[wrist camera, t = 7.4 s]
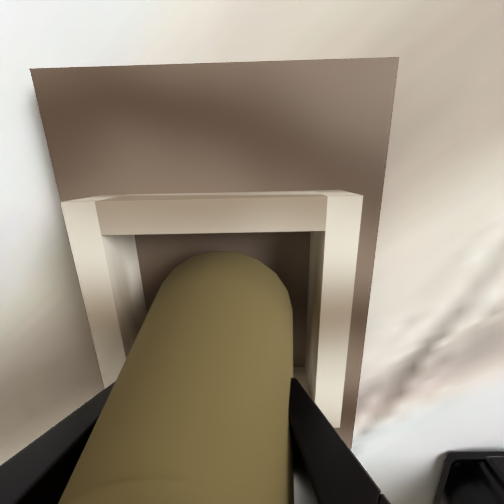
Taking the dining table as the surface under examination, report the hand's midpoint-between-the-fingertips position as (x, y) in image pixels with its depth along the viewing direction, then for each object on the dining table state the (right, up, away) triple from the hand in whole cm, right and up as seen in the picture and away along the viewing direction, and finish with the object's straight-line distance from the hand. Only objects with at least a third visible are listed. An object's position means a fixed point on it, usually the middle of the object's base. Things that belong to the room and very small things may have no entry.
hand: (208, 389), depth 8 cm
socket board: (0, +2, +6) cm, 7 cm away
